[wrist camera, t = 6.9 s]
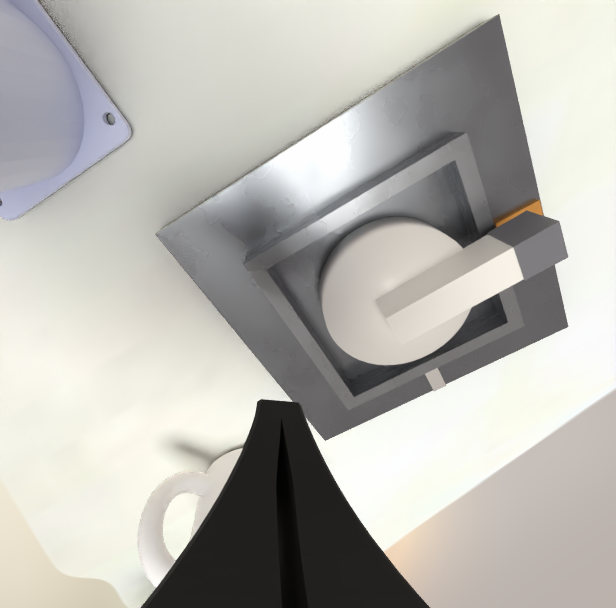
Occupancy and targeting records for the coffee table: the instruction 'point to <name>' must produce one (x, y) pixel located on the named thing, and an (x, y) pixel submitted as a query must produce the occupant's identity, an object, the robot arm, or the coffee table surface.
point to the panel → (364, 209)
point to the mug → (151, 522)
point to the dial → (424, 282)
